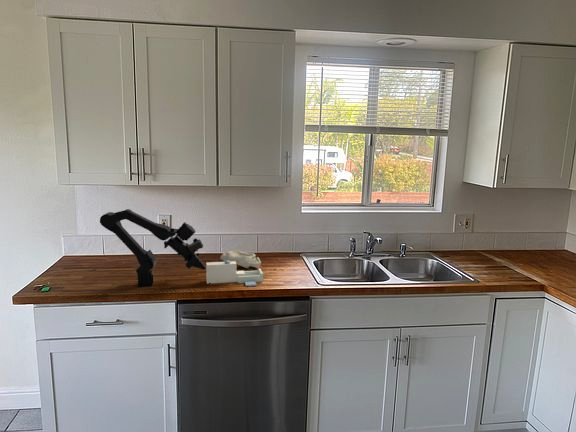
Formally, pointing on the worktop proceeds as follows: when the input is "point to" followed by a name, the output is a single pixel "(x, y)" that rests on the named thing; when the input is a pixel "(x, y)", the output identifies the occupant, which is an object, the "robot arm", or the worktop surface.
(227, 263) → the white stepped block
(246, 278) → the cradle
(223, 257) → the sculpture
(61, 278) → the worktop surface
